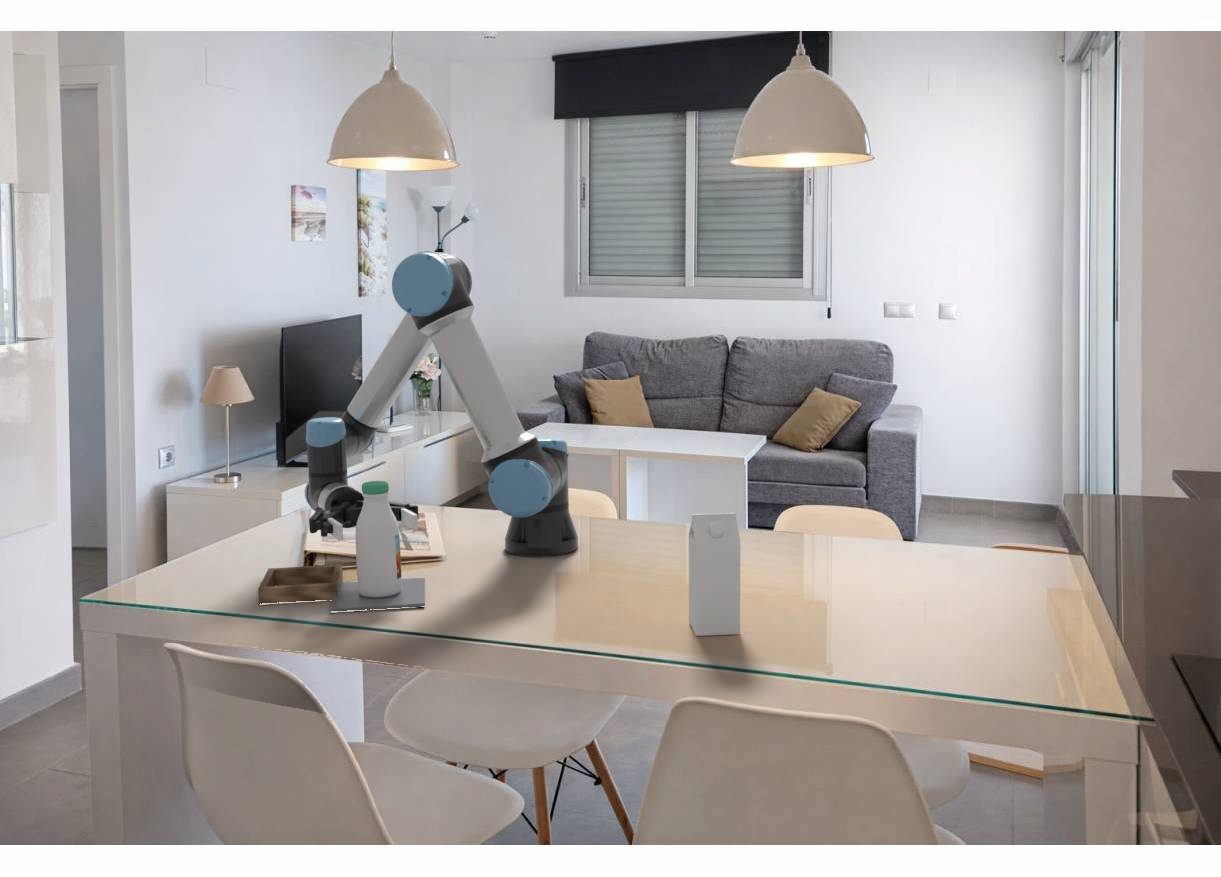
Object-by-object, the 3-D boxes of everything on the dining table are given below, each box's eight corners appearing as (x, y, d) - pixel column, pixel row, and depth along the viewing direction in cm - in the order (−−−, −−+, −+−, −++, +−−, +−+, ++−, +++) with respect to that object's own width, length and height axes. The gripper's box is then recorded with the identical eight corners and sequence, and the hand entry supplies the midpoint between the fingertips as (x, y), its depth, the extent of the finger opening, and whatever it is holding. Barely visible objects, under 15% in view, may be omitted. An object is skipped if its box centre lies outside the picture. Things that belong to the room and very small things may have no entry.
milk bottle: (391, 599, 194) (386, 487, 191) (350, 597, 195) (345, 486, 192) (408, 587, 201) (404, 479, 198) (368, 585, 203) (363, 478, 200)
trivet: (424, 581, 207) (424, 577, 207) (424, 607, 192) (424, 603, 192) (337, 587, 205) (337, 582, 205) (330, 613, 189) (329, 609, 189)
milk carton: (688, 622, 182) (688, 509, 179) (731, 620, 183) (731, 508, 180) (695, 637, 175) (695, 519, 172) (740, 635, 176) (740, 518, 173)
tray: (342, 579, 210) (342, 564, 209) (337, 600, 197) (336, 584, 196) (269, 584, 207) (268, 568, 207) (259, 605, 194) (258, 589, 194)
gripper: (406, 516, 220) (446, 538, 202) (278, 533, 208) (309, 558, 189) (404, 479, 219) (444, 498, 201) (276, 493, 206) (306, 515, 188)
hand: (378, 527), depth 195 cm, fingers open, 13 cm apart
